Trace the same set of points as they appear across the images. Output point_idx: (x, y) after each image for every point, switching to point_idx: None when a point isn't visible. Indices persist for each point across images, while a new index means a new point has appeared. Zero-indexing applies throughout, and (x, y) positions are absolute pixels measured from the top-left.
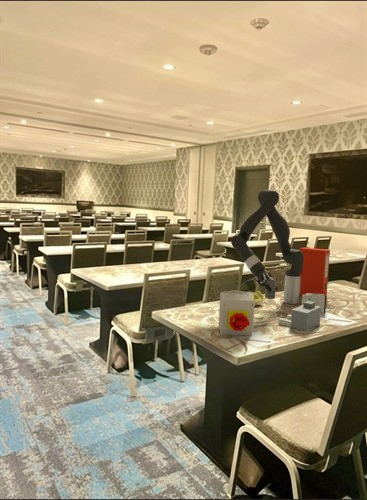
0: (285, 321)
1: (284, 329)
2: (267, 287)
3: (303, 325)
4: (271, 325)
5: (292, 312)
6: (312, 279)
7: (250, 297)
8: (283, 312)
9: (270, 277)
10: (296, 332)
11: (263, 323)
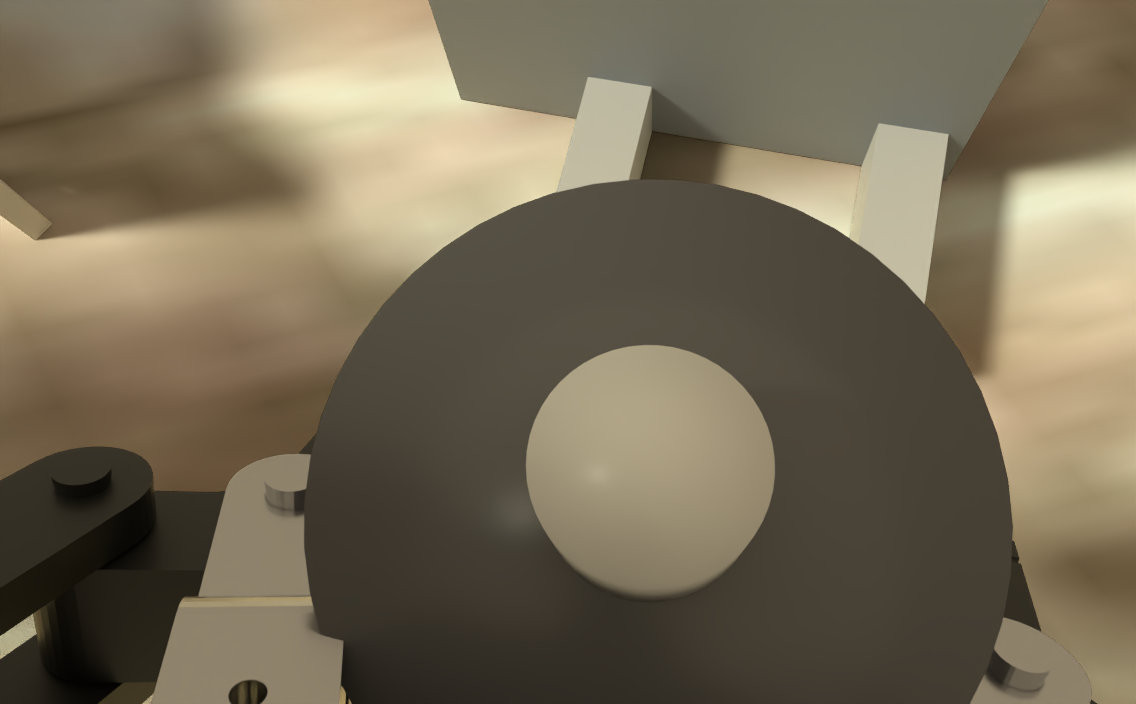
0: (930, 242)
1: (1120, 230)
2: (1025, 602)
3: None
4: (1073, 461)
5: (1034, 10)
6: None
7: None
8: (181, 490)
9: (678, 495)
10: (1125, 61)
11: (1066, 622)
